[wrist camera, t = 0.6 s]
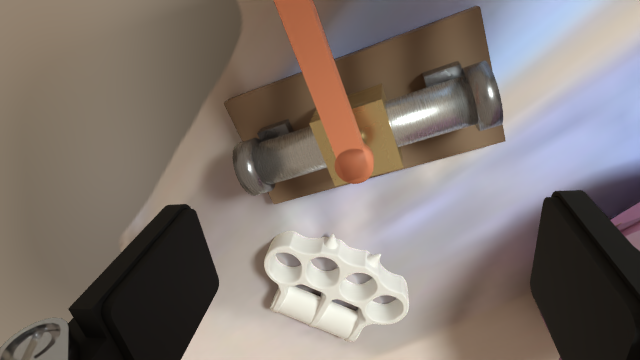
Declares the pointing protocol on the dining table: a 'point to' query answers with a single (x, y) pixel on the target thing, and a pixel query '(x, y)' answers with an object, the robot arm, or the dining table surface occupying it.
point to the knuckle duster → (333, 286)
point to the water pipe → (374, 127)
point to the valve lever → (326, 89)
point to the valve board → (367, 71)
